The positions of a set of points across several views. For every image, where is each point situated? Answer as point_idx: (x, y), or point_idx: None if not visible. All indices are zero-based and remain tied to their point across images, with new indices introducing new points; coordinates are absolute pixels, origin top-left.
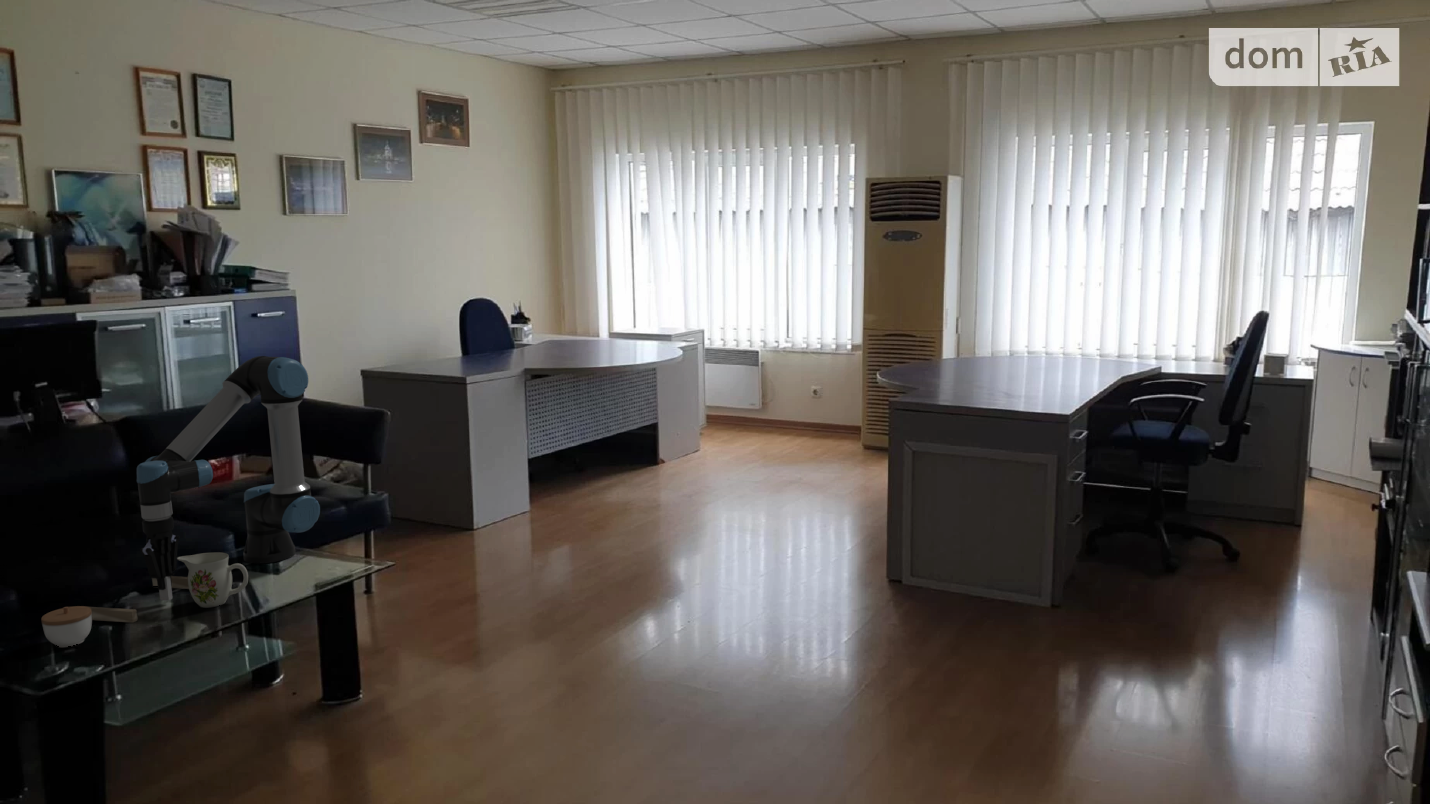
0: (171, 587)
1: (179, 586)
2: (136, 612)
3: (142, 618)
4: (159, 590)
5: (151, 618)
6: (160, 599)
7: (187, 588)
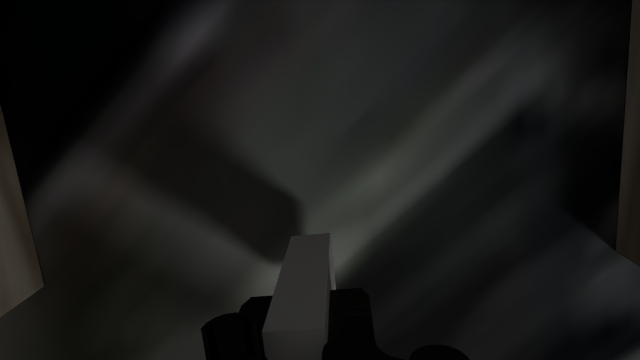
0: (634, 18)
1: (636, 96)
2: (6, 312)
3: (78, 290)
4: (281, 270)
5: (97, 340)
6: (291, 239)
7: (623, 164)
